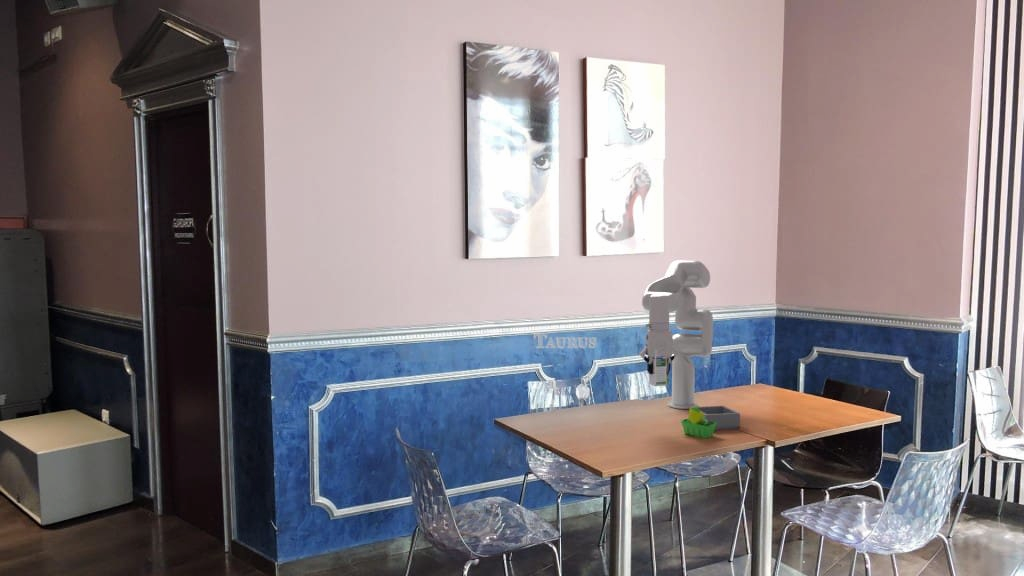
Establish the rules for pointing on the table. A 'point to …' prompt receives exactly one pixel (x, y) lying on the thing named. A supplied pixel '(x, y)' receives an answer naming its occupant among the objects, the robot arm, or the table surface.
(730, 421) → the bin
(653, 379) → the syrup box
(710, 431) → the fruit basket
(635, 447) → the table surface
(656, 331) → the robot arm
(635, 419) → the table surface
